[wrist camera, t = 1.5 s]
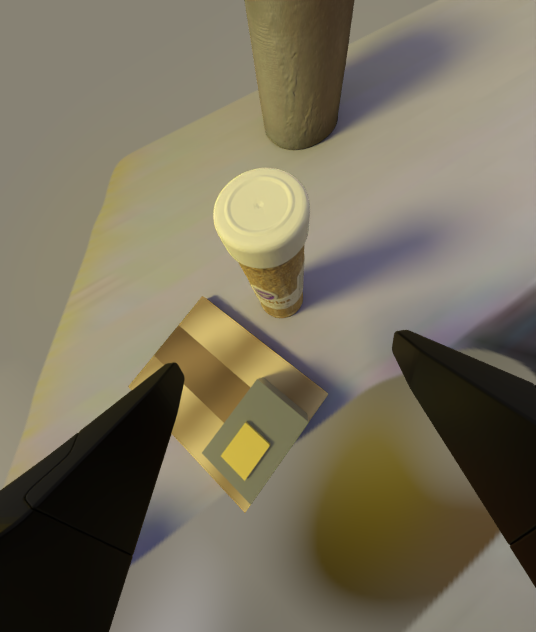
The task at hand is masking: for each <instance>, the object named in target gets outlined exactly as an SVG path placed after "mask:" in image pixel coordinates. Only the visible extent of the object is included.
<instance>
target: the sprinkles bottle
mask: <svg viewBox="0 0 536 632" xmlns="http://www.w3.org/2000/svg"><path fill="white" fill-rule="evenodd" d="M309 216H310V204H309V198H308V194H307V192H306V189H305V188H304V186H303V185H302V183H301V182H300V181H299V180H298V179H297V178H296V177H294V176H293V175H291V174H290V173H288V172H286V171H283V170H280V169H275V168H258V169H253V170H250V171H247V172H245V173H242V174H240V175H239V176H237V177H235V178H234V179H233V180H231V181H230V182H229V183H228V184H227V185H226V186H225V187H224V188H223V190H222V191H221V192H220V194H219V196H218V198H217V200H216V203H215V206H214V214H213V217H214V224H215V228H216V231H217V233H218V235H219V237H220V238H221V240H222V242H223V244H224V246H225V247H226V249H227V250H228V252H229V254H230V255H231V256H232V257H233V258H234V259H235V260H237V261H238V262H239V264H240V266H241V268H242V269H243V271H244V273H245V274H246V276H247V278H248V280H249V282H250V285H251V287H252V289H253V290H254V292H255V294H256V295H257V297H258V299H259V300H260V301H261V305H262V307H263V308H264V310H265V311H266V312H267V313H268V314H270V315H271V316H273V317H276V318H285V317H289V316H291V315H293V314H294V313H296V312H297V311H298V309H299V308H300V306H301V304H302V302H303V292H302V291H303V275H304V244H305V241H306V239H307V236H308V230H309Z"/></svg>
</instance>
